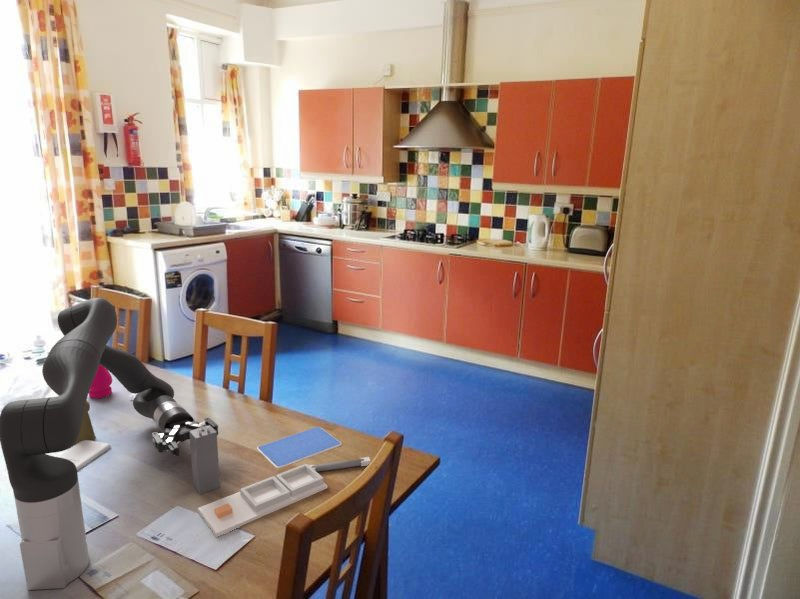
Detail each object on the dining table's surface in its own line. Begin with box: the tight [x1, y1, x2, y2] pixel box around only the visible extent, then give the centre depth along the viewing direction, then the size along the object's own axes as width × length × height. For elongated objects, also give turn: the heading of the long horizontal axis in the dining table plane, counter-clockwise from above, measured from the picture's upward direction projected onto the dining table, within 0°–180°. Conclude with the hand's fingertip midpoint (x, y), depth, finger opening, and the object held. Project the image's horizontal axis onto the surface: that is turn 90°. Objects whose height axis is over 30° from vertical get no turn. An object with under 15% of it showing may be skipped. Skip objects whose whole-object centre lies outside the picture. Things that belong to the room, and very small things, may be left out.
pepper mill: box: [88, 364, 113, 399], centre depth 161 cm, size 7×7×20 cm
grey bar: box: [305, 456, 372, 473], centre depth 128 cm, size 16×2×2 cm, turn 107°
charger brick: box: [189, 425, 221, 495], centre depth 118 cm, size 4×5×15 cm
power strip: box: [197, 462, 328, 538], centre depth 115 cm, size 26×10×2 cm, turn 131°
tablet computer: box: [256, 426, 343, 469], centre depth 138 cm, size 19×13×1 cm, turn 130°
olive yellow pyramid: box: [72, 400, 96, 447], centre depth 136 cm, size 6×6×11 cm
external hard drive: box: [56, 440, 111, 471], centre depth 129 cm, size 2×8×12 cm
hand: (196, 446), depth 121 cm, fingers open, 8 cm apart
